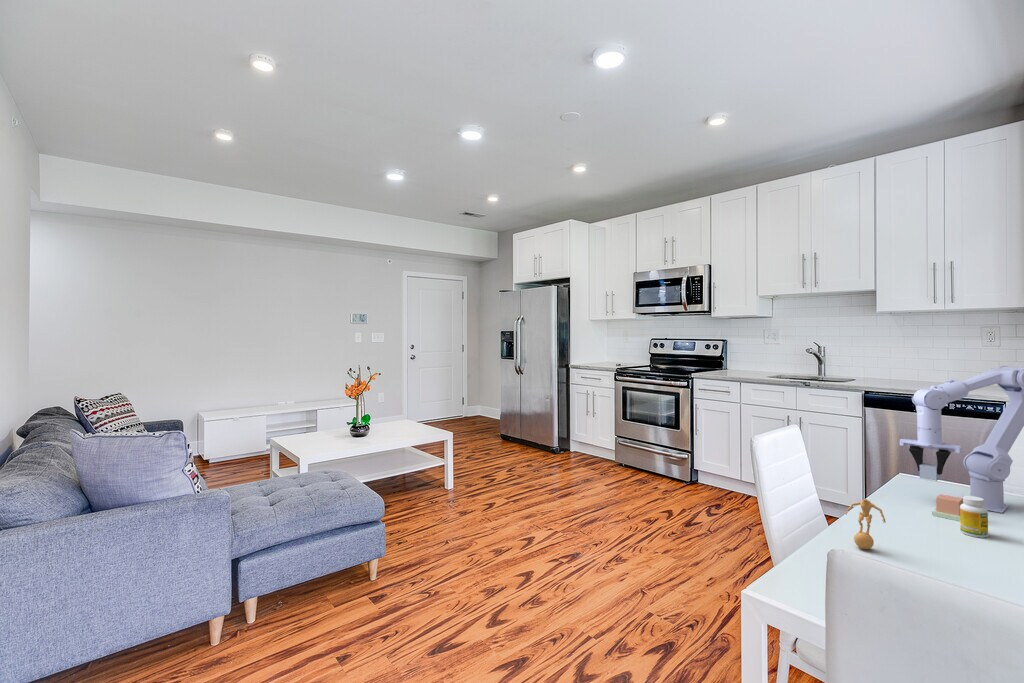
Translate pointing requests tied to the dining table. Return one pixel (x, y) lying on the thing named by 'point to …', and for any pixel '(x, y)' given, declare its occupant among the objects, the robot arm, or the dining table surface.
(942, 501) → the terracotta brick
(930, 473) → the slate brick
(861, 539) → the figurine
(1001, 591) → the dining table surface
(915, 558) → the dining table surface
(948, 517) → the plate
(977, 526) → the supplement bottle
